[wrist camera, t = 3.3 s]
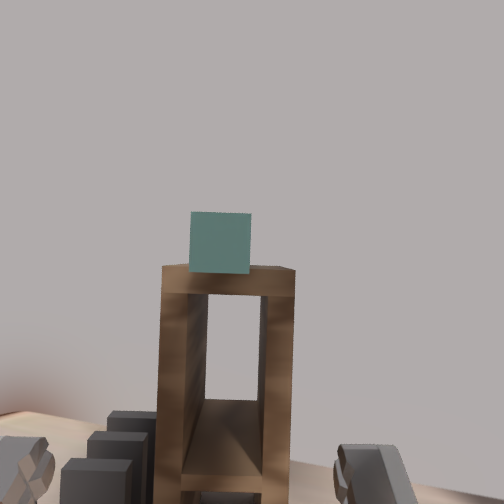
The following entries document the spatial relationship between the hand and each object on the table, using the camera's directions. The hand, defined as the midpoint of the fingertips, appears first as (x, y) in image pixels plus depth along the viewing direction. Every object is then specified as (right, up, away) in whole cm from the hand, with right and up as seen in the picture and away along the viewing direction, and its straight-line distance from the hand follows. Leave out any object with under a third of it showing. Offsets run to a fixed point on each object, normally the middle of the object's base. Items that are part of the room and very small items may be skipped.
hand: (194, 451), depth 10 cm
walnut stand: (-1, -22, +23) cm, 32 cm away
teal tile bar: (0, +4, +18) cm, 19 cm away
